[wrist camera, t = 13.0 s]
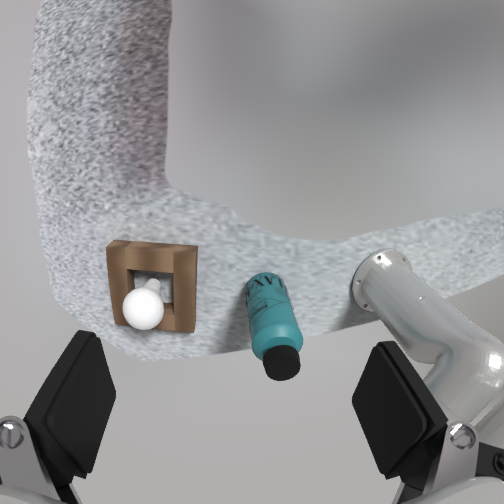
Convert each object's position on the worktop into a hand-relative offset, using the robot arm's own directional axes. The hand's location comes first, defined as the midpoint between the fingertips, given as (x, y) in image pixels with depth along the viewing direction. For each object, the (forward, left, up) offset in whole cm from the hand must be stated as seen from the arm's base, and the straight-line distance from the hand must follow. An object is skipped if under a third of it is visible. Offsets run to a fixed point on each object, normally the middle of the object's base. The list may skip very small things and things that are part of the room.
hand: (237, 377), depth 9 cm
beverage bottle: (-7, +14, -35) cm, 39 cm away
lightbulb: (+11, +16, -35) cm, 40 cm away
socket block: (+11, +15, -35) cm, 40 cm away
